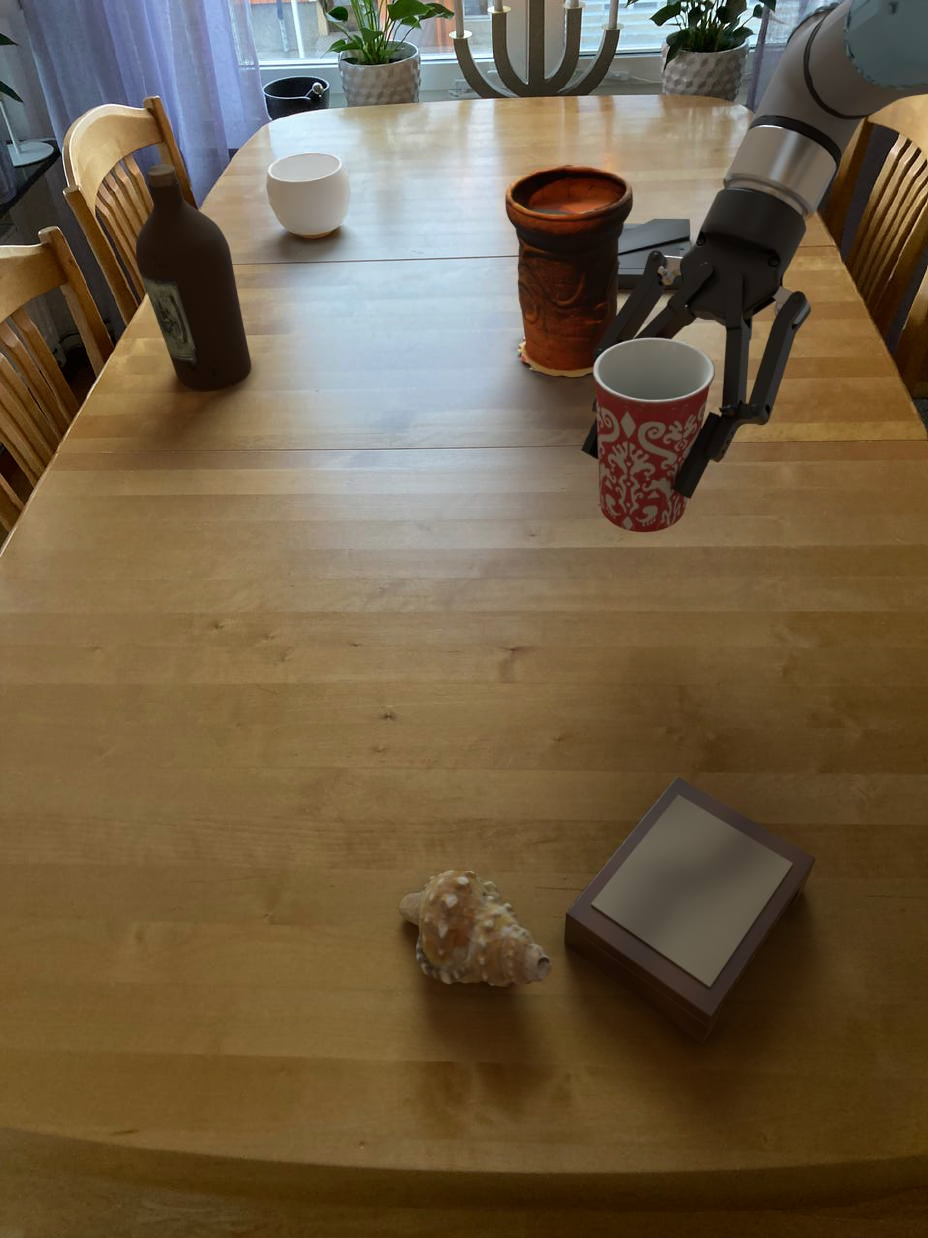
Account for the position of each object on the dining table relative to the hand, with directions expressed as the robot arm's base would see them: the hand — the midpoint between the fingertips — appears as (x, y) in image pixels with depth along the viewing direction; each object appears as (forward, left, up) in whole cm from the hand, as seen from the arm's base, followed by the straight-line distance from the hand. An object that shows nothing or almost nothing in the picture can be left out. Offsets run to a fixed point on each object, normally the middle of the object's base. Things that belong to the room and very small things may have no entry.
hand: (635, 473), depth 79 cm
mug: (0, -3, -5) cm, 6 cm away
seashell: (-10, +34, -16) cm, 39 cm away
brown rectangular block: (-21, +23, -16) cm, 35 cm away
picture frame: (+39, -57, -16) cm, 71 cm away
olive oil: (+64, -4, -16) cm, 66 cm away
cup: (+83, -40, -16) cm, 94 cm away
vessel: (+31, -34, -16) cm, 49 cm away
